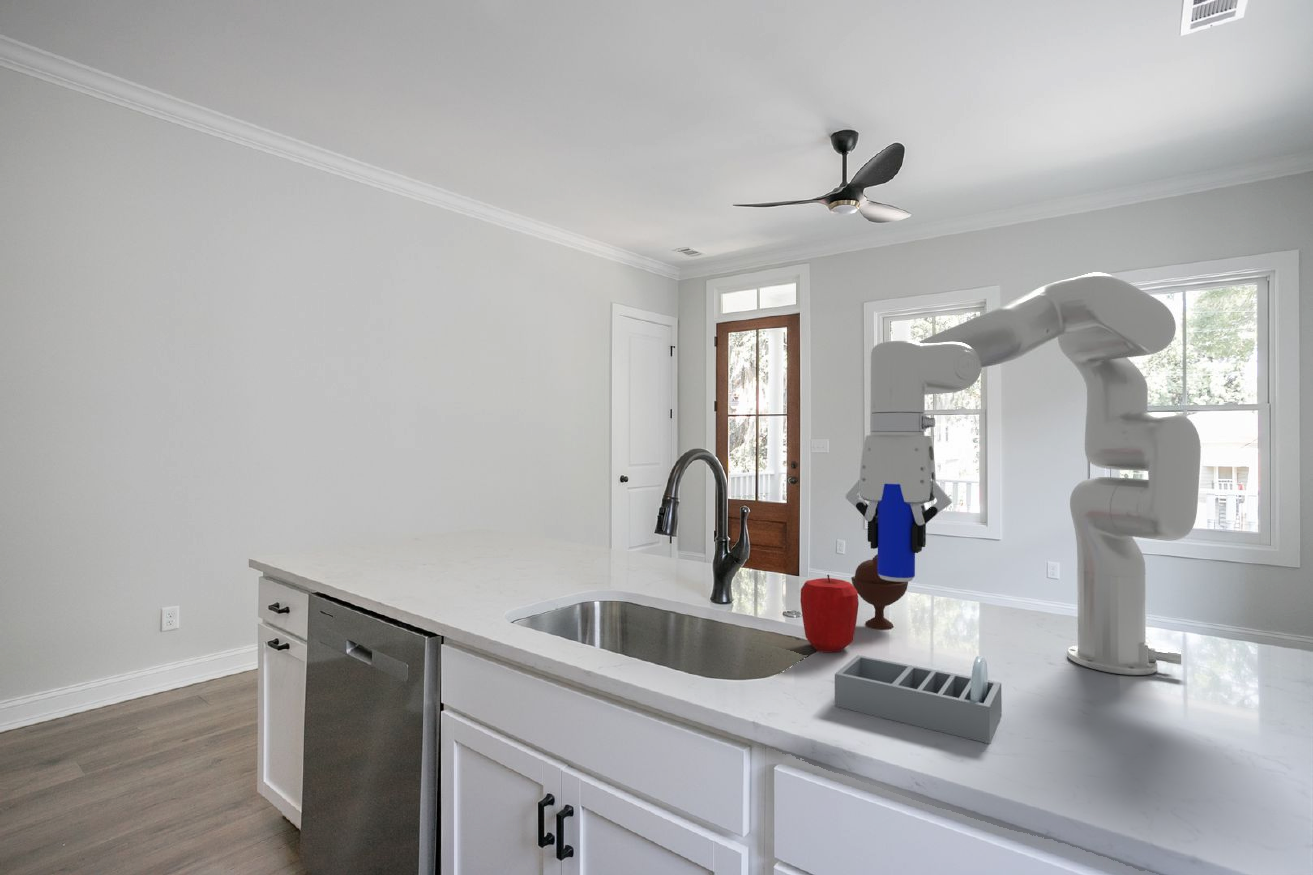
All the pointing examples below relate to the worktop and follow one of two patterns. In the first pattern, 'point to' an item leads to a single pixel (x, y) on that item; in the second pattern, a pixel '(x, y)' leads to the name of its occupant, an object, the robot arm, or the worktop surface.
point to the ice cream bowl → (877, 591)
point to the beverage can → (895, 535)
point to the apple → (829, 613)
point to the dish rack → (918, 697)
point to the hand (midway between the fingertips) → (896, 548)
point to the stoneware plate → (979, 680)
